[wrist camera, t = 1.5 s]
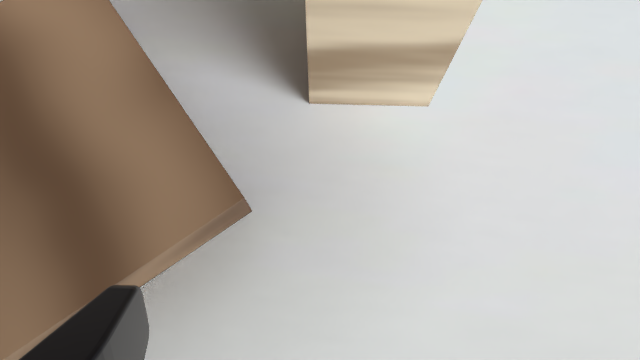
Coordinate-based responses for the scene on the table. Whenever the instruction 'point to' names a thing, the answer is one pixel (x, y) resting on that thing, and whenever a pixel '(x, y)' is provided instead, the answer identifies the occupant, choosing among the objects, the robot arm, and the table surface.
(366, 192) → the table surface
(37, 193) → the walnut base block
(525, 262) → the table surface
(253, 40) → the table surface
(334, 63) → the birch block
